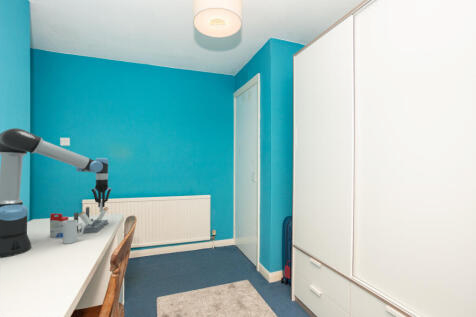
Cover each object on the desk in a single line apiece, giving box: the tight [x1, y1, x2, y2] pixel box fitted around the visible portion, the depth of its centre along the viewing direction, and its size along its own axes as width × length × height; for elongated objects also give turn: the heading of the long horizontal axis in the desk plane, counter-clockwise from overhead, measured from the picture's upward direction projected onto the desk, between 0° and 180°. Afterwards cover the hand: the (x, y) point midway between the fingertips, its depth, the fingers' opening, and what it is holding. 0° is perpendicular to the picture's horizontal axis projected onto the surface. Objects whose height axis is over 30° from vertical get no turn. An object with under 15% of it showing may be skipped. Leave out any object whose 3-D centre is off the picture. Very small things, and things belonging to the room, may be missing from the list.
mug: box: [62, 219, 85, 245], centre depth 132 cm, size 10×7×12 cm, turn 118°
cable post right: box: [85, 206, 94, 221], centre depth 174 cm, size 11×2×12 cm, turn 13°
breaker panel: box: [79, 219, 109, 234], centre depth 158 cm, size 21×10×5 cm, turn 13°
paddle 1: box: [78, 211, 93, 226], centre depth 151 cm, size 4×2×10 cm
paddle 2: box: [96, 206, 109, 222], centre depth 164 cm, size 4×2×10 cm
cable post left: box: [73, 212, 79, 232], centre depth 150 cm, size 7×2×12 cm, turn 13°
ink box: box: [49, 213, 69, 239], centre depth 141 cm, size 8×5×15 cm, turn 84°
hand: (101, 211), depth 164 cm, fingers closed
